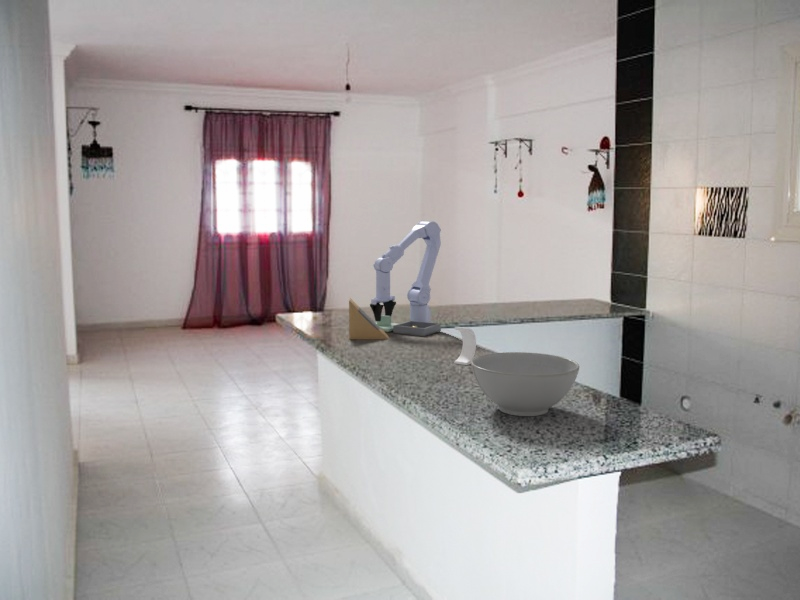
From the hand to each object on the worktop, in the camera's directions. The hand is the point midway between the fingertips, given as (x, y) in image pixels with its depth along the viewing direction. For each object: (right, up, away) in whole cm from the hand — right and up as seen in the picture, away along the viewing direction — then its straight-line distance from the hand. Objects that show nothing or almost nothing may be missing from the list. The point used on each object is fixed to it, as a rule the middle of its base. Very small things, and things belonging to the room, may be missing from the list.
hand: (383, 319), depth 309 cm
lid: (0, -3, 0) cm, 3 cm away
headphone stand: (+28, -12, -65) cm, 71 cm away
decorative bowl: (+38, -20, -119) cm, 127 cm away
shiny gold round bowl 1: (+13, -4, -3) cm, 14 cm away
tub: (+14, -5, -7) cm, 16 cm away
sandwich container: (-5, -7, -19) cm, 21 cm away
